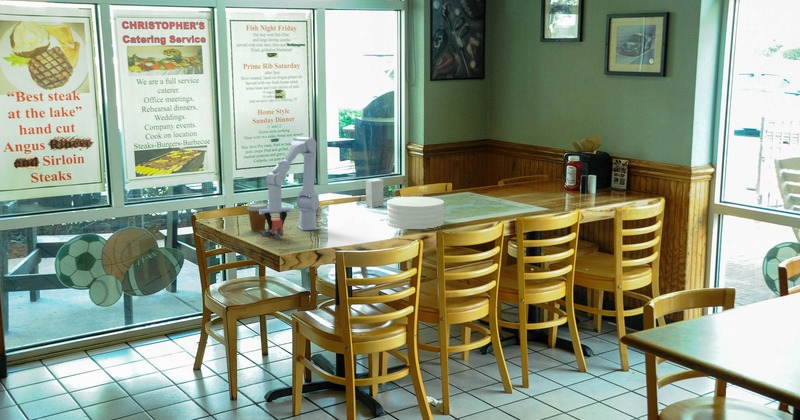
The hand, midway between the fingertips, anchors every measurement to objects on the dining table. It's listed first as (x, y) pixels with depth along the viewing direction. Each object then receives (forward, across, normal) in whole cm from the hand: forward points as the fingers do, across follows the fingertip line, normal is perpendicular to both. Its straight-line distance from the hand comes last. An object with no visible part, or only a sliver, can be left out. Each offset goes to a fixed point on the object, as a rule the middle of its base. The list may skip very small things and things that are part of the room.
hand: (275, 228), depth 382 cm
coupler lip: (+4, 0, +3) cm, 5 cm away
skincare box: (+4, +69, +57) cm, 90 cm away
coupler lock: (+2, 0, 0) cm, 2 cm away
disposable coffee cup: (+4, -4, +19) cm, 20 cm away
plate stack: (+4, +71, +5) cm, 72 cm away
